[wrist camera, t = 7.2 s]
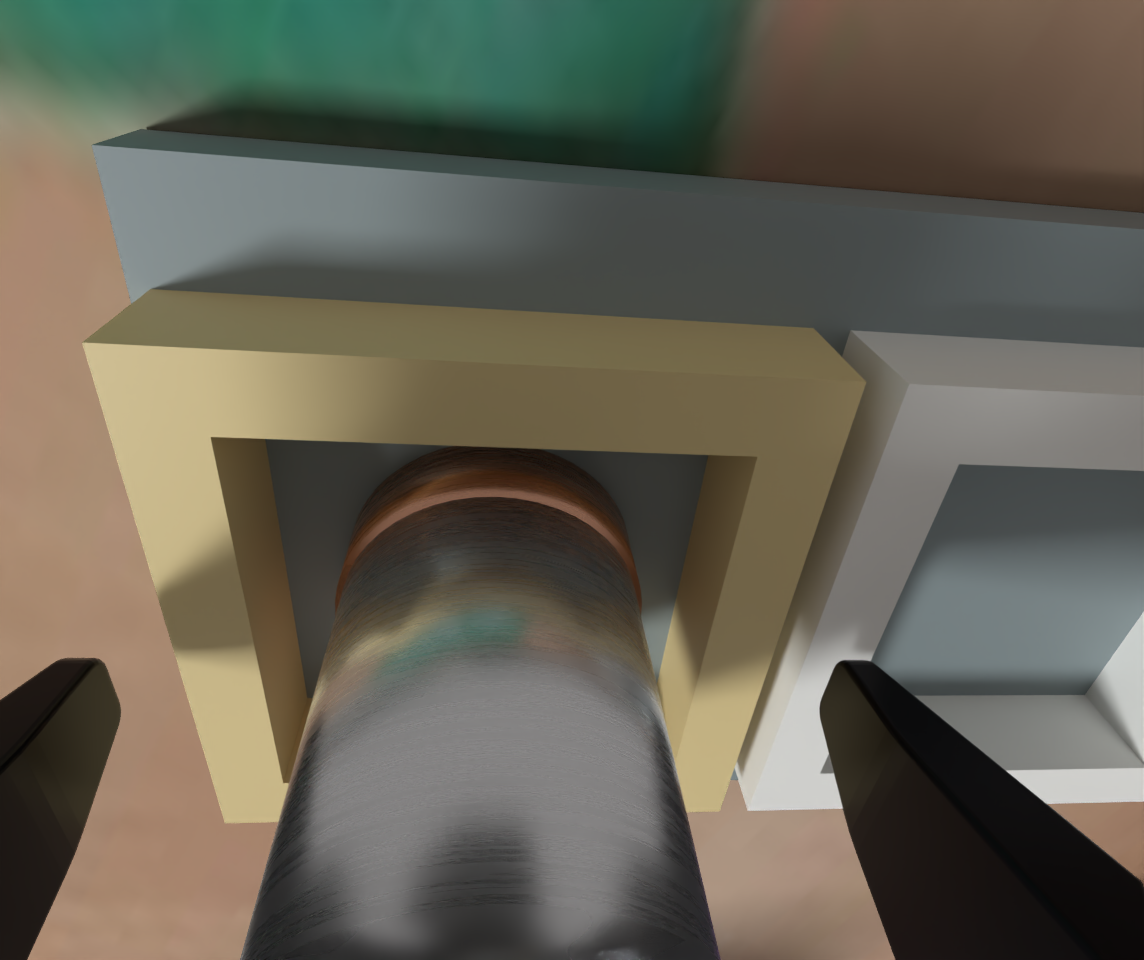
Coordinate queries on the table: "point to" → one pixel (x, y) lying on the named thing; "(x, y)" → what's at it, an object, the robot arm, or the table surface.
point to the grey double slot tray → (648, 435)
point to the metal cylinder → (485, 738)
